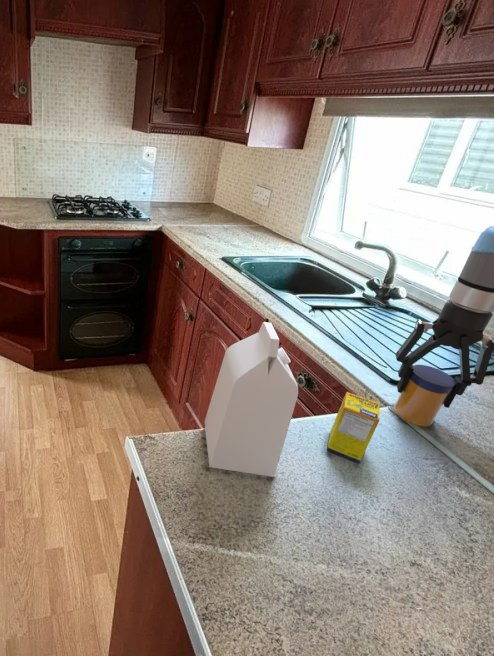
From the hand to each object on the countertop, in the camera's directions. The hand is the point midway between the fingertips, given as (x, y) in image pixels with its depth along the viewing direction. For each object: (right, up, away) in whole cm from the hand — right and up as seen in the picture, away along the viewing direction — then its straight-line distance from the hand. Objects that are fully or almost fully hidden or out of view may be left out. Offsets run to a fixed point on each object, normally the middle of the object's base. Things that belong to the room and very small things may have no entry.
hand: (421, 396), depth 90 cm
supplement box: (-23, -8, -9) cm, 26 cm away
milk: (-45, -7, -12) cm, 47 cm away
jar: (0, -5, +2) cm, 5 cm away
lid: (+1, +5, -2) cm, 5 cm away
